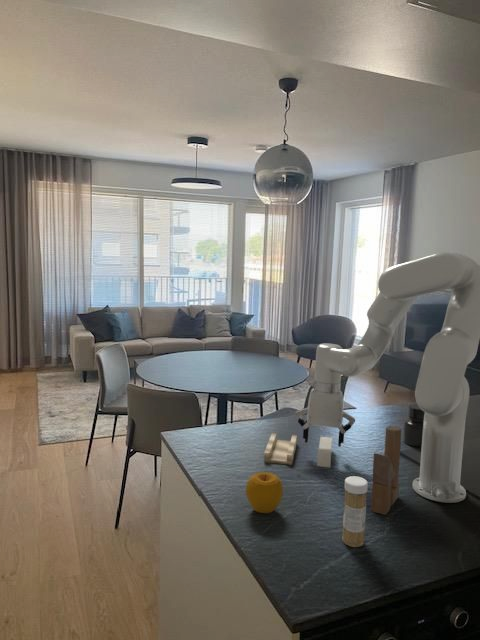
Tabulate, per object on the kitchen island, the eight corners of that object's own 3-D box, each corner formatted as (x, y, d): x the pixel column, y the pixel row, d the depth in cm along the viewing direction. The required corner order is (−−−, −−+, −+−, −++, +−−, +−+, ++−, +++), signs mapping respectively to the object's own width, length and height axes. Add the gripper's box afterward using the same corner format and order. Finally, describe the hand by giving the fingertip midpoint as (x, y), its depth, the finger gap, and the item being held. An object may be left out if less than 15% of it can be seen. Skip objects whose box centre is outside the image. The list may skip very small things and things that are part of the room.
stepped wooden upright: (370, 511, 113) (374, 437, 110) (384, 493, 122) (388, 424, 119) (386, 516, 111) (390, 440, 108) (399, 497, 120) (403, 427, 117)
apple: (251, 523, 107) (252, 484, 106) (240, 504, 115) (241, 468, 114) (287, 517, 109) (288, 480, 108) (274, 499, 117) (275, 465, 116)
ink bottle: (429, 438, 160) (431, 403, 159) (437, 448, 151) (439, 411, 150) (398, 437, 161) (401, 402, 160) (405, 447, 152) (407, 410, 151)
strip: (330, 468, 136) (330, 452, 136) (317, 466, 137) (318, 451, 136) (331, 451, 148) (332, 437, 147) (320, 450, 149) (320, 436, 148)
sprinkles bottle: (349, 533, 103) (352, 473, 102) (368, 541, 100) (372, 480, 99) (337, 542, 100) (340, 480, 98) (357, 551, 97) (360, 487, 95)
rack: (291, 464, 137) (292, 455, 137) (263, 461, 139) (264, 452, 139) (296, 444, 153) (296, 435, 153) (271, 441, 154) (271, 433, 154)
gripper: (295, 387, 138) (292, 444, 140) (358, 393, 135) (353, 451, 137) (298, 380, 145) (294, 434, 148) (357, 386, 142) (352, 441, 144)
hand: (322, 442), depth 142 cm, fingers open, 9 cm apart
